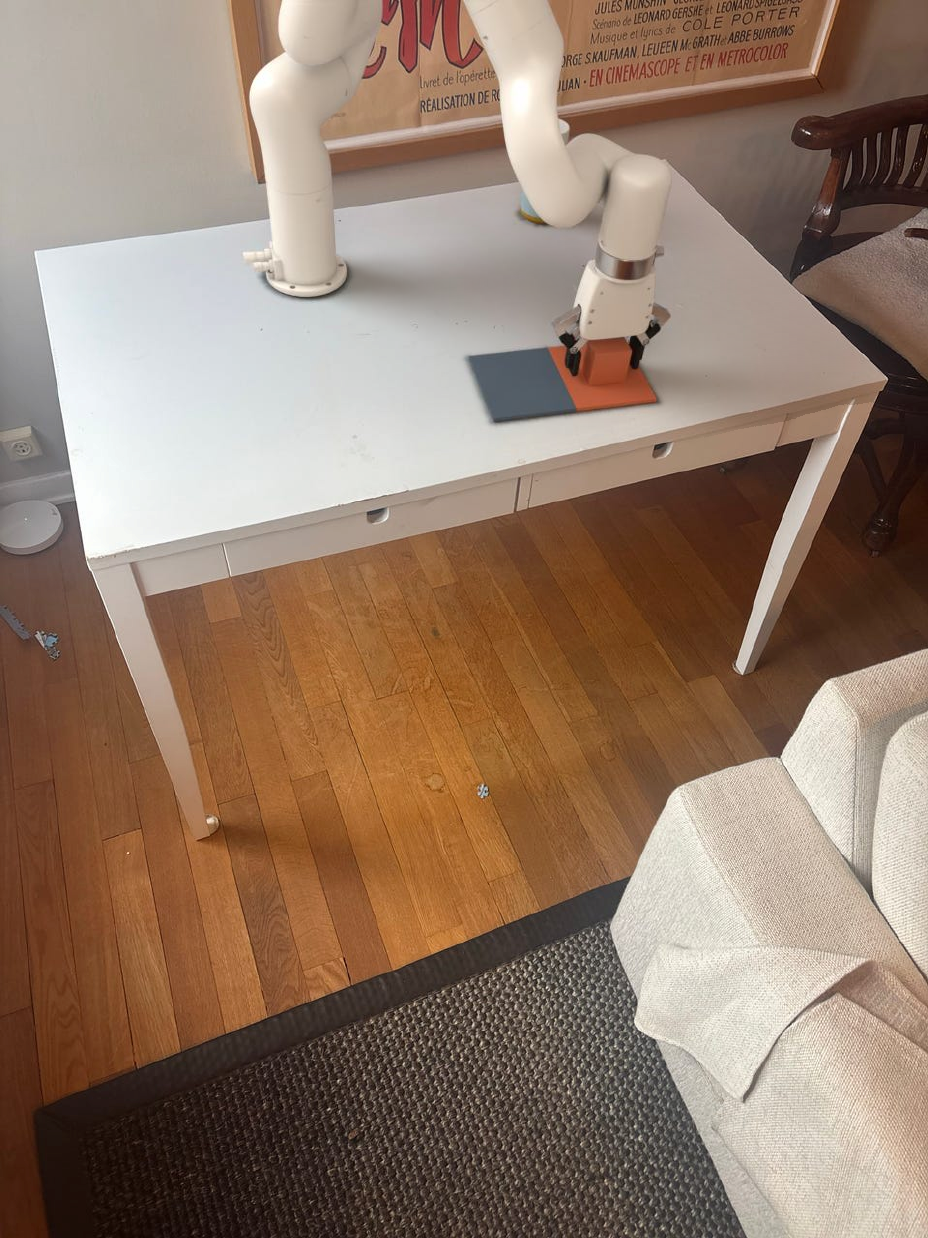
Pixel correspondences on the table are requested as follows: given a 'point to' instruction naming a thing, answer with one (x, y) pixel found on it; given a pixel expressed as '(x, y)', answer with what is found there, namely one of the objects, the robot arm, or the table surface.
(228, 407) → the table surface
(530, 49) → the robot arm
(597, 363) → the block
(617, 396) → the sorting mat
